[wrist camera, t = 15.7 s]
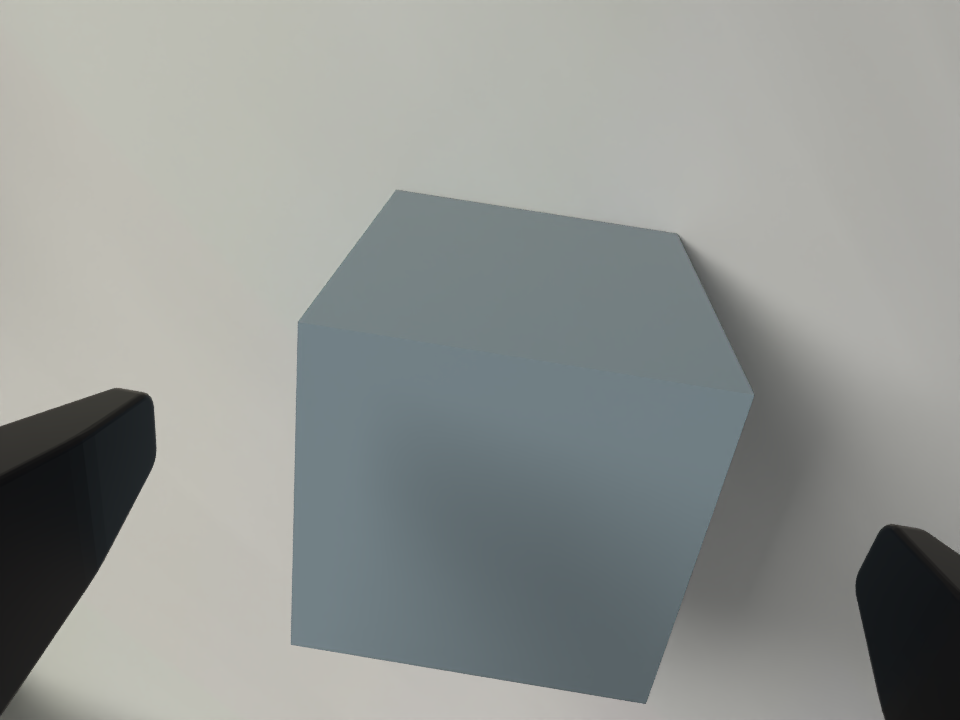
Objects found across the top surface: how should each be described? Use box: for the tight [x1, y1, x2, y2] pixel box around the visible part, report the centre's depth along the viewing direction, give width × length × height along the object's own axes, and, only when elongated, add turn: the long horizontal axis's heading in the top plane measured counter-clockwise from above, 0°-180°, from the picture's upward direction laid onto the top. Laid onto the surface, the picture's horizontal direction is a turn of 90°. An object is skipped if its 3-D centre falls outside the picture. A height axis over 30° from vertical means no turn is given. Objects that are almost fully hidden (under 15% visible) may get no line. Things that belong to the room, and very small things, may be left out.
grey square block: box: [291, 190, 754, 704], centre depth 18 cm, size 8×8×9 cm
